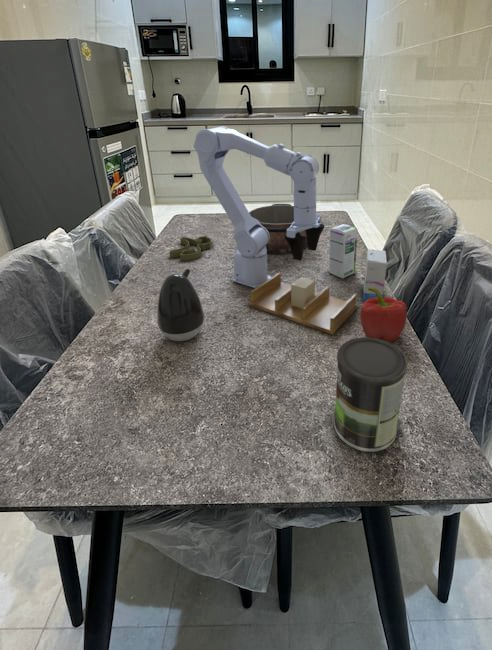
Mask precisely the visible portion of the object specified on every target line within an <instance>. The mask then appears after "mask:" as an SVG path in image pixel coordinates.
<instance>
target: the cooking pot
mask: <svg viewBox="0 0 492 650" xmlns="http://www.w3.org/2000/svg"><path fill="white" fill-rule="evenodd" d="M248 212H249V214H250V215H251V217H253V218H255V219H257V220H258V221H259V222H260V224H261V225H262V226H263V227H264V228H266V229H267V230H268V232H269V235H270V239H269V242H268V243H267V244H266V249H267V254H272V255H273V254H274V255H275V254H276V255H284V254H291V253H292V251H291V248H290V246H289V244H288V242H287V240H286V239H285V234H286V233H287V229H288V228H289V227H290V226H291V225H292V223H293V222H294V205H292V204H291V203H273V204H271V205H265V206H260V207H257V208H253V209H251V210H250V211H248ZM300 235H301V236H304V237H307V235H306V231H305V230H304V231H302V232H300ZM306 248H308V245H307V238H306V240H305V243H304V247H303V250H304V249H306Z"/></svg>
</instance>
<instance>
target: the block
mask: <svg viewBox="0 0 492 650" xmlns="http://www.w3.org/2000/svg"><path fill="white" fill-rule="evenodd" d="M315 292H316V280H315V279H311V278H307V277H303V276H301V277H299V278H297V280H295V281H294V282H292V283H291V305H292V306H295V307H298V308H302V307H303V306H304V305H306V304H307V303H308V302H309V301H310V300H311V299H313V298H314V297H315Z"/></svg>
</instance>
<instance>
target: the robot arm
mask: <svg viewBox="0 0 492 650" xmlns="http://www.w3.org/2000/svg"><path fill="white" fill-rule="evenodd" d="M285 146H286V145H285V144H283V143H278V144H275V143H274V144H272V145H269V146H268V145H267V144H264V143H262V142H260V141H258V140H256V139H253V138H251V137H249V136H247V135H245V134H243V133H241V132H239V131H237V130H236V129H233V128H228V127H227V126H224V125H219V126H217V127H212V128H203V129H200V130H199V131H198V132H197V133H196V135H195V138H194V143H193V149H194V150H195V152H196V154H197V156H198V163H199V167H200V171H201V173H202V175H203V176H204V178H205V179H206V182H207V184H208V185H209V186H210V189H211V190H212V191H213V193H214V195H215V197H216V198H217V200H218V202H219V204H220V205H221V206H222V208H223V210H224V212H225V213H226V216H227V217H228V219H229V220H230V222H231V224H232V225H233V233H232V235H233V238H234V240H235V244H236V248H237V251H236V252H235V253H234V255H233V258H232V259H233V261H232V262H233V277H234V278H233V279H232V282H235V283H237V284H241V285H244V286H247V287H249V288H253V289H255V288H256V287H258V286H259V285H261V284H262V283H264V282H265V281H267V280H268V279H270V278H271V277H273V276H272V275H269V274H268V273H269V272H268V253H267V249H266V244H267V243H268V242H269V239H270V235H269V232H268V230H267V229H266V228H264V227H263V226H262V225H261V224H260V222H259V221H258V220H257V219H255V218H253V217H251V215H250V214H249V212H250V211H249V210H248V208H247V207H246V205H245V203H244V201H243V200H242V198H241V196H240V194H239V193H238V191H237V189H236V188H235V186H234V184H233V182H232V181H231V179H230V178H229V176H228V174H227V172H226V171H225V169H224V161H225V158H226V156H227V154H228V153H229V151H231V150H238V151H240V152H242V153H245V154H248V155H251V156H254V157H256V158H259V159H261V160H263V161H264V164H265V166H266V167H268V168H269V169H273V170H275V171H277V172H280V173H282V174H284V175H286V176H289V177H290V178H291V180H292V181H293V206H294V222H293V223H292V225H291V226H290V227H289V228H288V229H287V233H286V234H285V239H286V240H287V242H288V244H289V246H290V248H291V251H292V254H291V255H292V257H293V260H295V261H299V262H300V261H302V259H303V256H304V249H303V247H304V243H305V240H306V238H307V245H308V246H307V249H308V250H309V251H313V252H316V251H317V248H318V245H319V240H320V238H321V235H322V233H323V231H324V229H325V224H323V223H322V221H323V220H322V219H323V215H322V214H317V177H316V176H317V175H318V173H319V171H320V164H319V162H318V160H317V159H316V158H315V157H314V156H312V155H311V154H305V155H303V153H302V152H300V151H297V152H296V151H293V150H290V149H287V148H286V147H285ZM304 230H305V231H306V235H307V237H304V236H301V235H300V232H302V231H304Z"/></svg>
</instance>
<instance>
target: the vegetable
mask: <svg viewBox="0 0 492 650" xmlns="http://www.w3.org/2000/svg"><path fill="white" fill-rule="evenodd" d="M368 290H370V291H372V292H373V291H374V292H375V293H376V295H377V297H378V298H375V297H374V298H370V299H368V300H366V301H365V302H364V301H363V304H362V306H361V307H360V311H359V314H360V315H359V318H360V324H361V328H362V330H363V332H364V334H365V335H366V337H370V338H377V339H381V340H384V341H387V342H389V343H391V342H394V341H396V340H397V339H398V338H400V336H401V335H402V332H403V331H404V329H405V326H406V324H407V315H408V314H407V313H408V311H407V310H408V308H407V305H406V303H405V302H404V301H402V300H398V299H395V298H393V297H390V296H385V297H384V296H383V297H382V295H381V293H380V292H379V291H378V290H377V289H376V288H373V287H370V288H368Z"/></svg>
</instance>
